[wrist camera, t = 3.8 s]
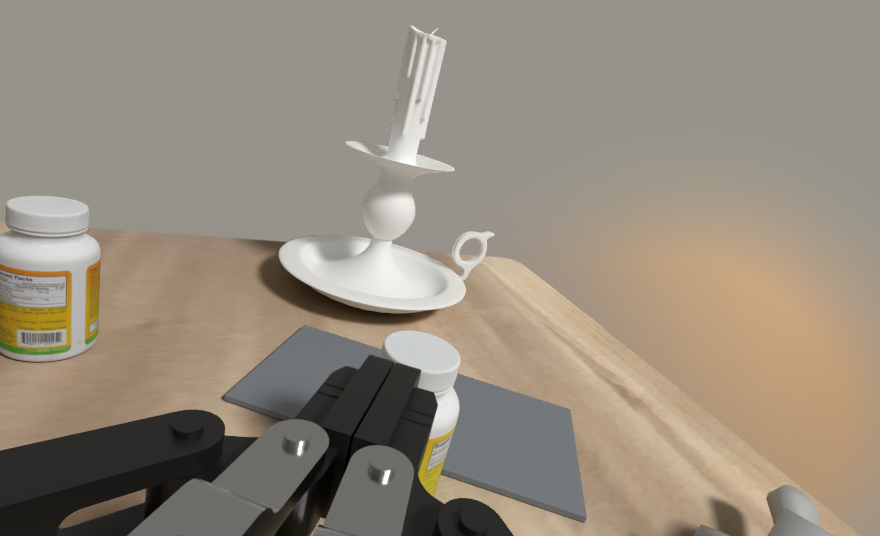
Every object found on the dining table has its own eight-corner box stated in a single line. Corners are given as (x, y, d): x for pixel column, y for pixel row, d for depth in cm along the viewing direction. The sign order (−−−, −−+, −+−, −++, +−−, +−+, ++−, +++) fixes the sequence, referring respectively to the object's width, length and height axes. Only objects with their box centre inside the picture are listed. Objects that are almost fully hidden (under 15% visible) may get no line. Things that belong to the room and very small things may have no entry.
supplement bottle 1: (63, 316, 36) (64, 189, 33) (116, 343, 34) (122, 212, 32) (-26, 342, 31) (-34, 195, 28) (32, 374, 30) (30, 223, 27)
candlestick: (522, 336, 54) (612, 73, 45) (299, 341, 41) (365, -25, 32) (437, 265, 70) (491, 62, 62) (259, 252, 57) (295, -6, 49)
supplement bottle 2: (312, 502, 26) (346, 342, 23) (371, 451, 31) (406, 313, 28) (395, 561, 24) (444, 394, 21) (444, 497, 29) (491, 353, 26)
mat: (584, 522, 29) (586, 517, 29) (223, 400, 32) (224, 395, 32) (568, 413, 41) (570, 409, 41) (304, 329, 43) (304, 325, 43)
